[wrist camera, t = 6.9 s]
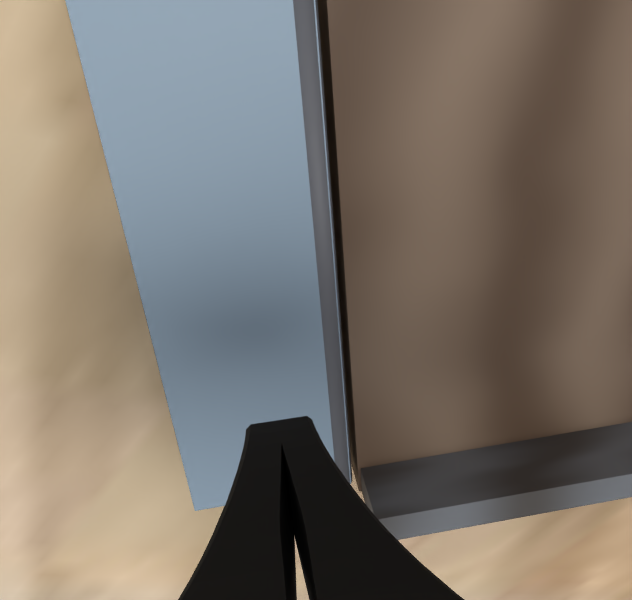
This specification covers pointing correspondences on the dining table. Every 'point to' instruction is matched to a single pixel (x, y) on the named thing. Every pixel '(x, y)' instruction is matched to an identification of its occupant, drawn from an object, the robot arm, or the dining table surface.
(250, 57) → the bar
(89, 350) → the dining table surface
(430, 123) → the flatbed
